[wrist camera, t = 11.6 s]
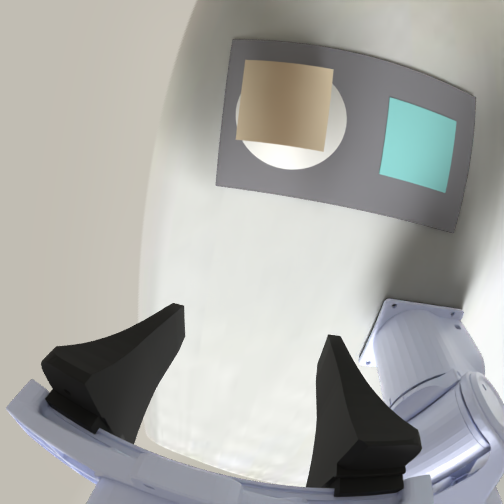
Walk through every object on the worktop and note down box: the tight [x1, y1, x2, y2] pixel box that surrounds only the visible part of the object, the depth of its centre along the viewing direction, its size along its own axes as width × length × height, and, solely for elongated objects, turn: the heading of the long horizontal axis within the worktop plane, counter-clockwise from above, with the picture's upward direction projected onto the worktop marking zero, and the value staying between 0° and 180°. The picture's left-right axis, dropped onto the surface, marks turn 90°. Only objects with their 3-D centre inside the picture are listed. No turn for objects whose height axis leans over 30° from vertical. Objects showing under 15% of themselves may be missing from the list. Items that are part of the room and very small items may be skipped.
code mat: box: [216, 39, 476, 233], centre depth 17 cm, size 20×12×1 cm, turn 84°
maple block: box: [236, 60, 334, 152], centre depth 15 cm, size 4×4×6 cm
